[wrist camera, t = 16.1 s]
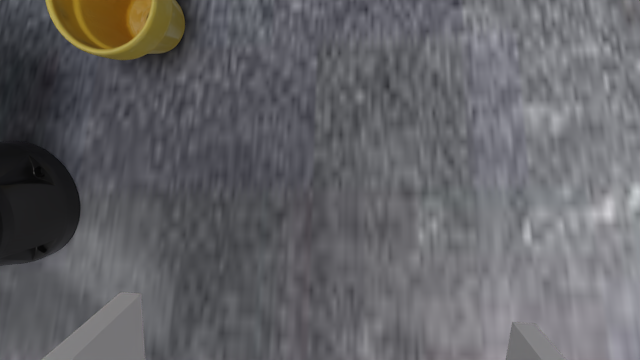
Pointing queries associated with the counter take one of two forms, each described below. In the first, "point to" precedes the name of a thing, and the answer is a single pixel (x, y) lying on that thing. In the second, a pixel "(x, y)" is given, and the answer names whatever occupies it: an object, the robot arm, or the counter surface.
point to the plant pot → (119, 26)
